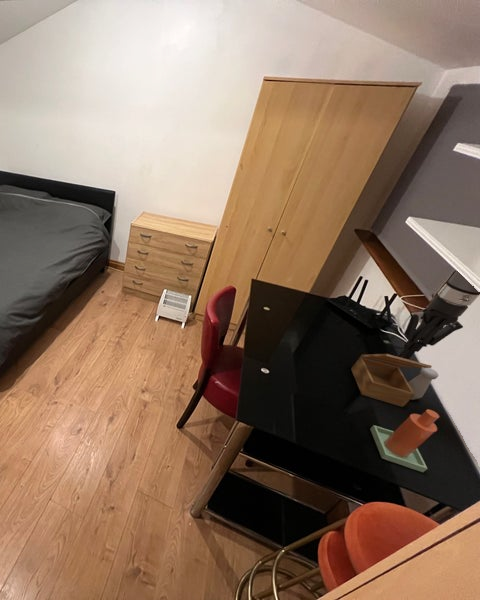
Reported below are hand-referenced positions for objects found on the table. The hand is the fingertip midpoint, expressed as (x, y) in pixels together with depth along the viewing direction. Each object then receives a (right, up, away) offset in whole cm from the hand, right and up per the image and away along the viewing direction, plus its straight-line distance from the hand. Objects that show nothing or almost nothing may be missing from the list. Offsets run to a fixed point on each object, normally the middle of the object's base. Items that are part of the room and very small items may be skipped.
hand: (404, 356), depth 112 cm
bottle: (-15, -27, -12) cm, 33 cm away
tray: (-15, -27, -12) cm, 33 cm away
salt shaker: (+9, -16, +8) cm, 20 cm away
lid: (+1, -3, +5) cm, 6 cm away
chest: (-1, -13, +10) cm, 17 cm away
